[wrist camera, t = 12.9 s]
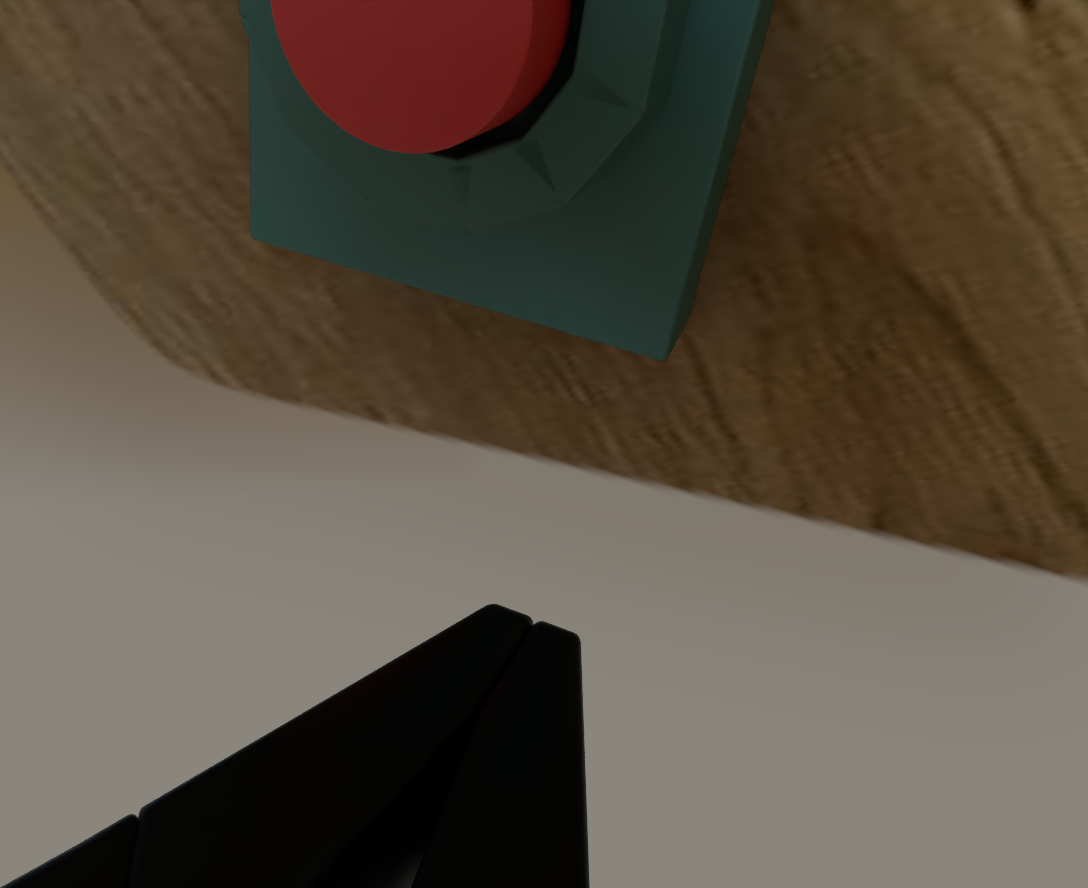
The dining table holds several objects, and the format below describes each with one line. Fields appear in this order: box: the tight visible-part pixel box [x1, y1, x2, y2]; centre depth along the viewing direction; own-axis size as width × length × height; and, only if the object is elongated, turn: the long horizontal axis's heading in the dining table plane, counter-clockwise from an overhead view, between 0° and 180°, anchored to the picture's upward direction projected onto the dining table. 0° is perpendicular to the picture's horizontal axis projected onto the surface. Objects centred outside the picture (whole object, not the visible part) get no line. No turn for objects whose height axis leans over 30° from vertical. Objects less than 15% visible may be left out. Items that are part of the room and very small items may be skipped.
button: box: [270, 0, 571, 154], centre depth 13 cm, size 4×4×2 cm
